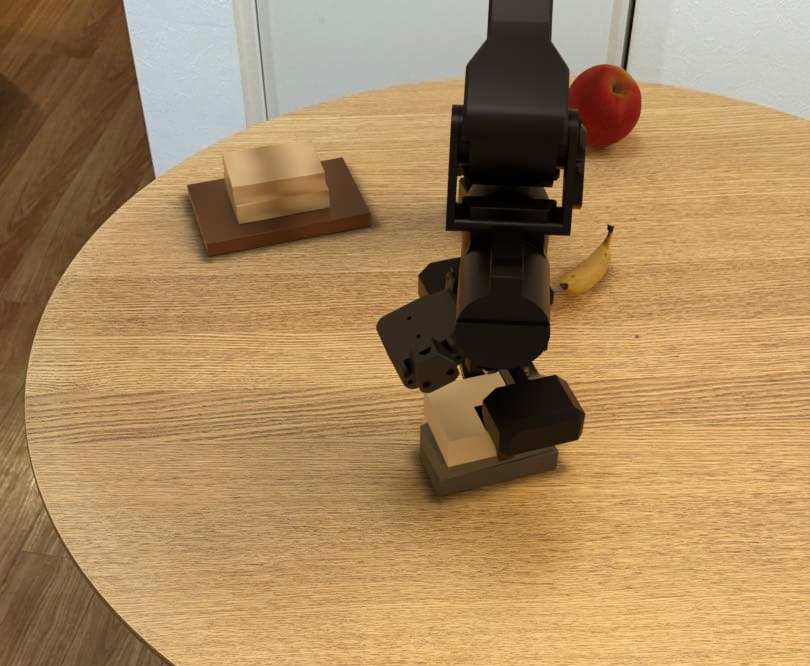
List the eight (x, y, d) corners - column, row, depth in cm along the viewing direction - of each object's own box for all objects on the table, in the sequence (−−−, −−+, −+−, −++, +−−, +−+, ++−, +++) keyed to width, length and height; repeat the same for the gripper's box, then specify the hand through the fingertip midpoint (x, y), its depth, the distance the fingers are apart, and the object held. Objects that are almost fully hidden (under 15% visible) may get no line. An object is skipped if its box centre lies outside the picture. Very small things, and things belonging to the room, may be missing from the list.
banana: (571, 322, 103) (576, 286, 100) (547, 313, 104) (551, 277, 101) (618, 262, 109) (624, 226, 106) (595, 254, 109) (600, 218, 106)
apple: (565, 162, 119) (574, 90, 113) (558, 120, 124) (566, 48, 118) (639, 162, 119) (651, 89, 113) (628, 119, 124) (640, 48, 118)
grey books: (534, 428, 95) (538, 393, 92) (557, 470, 92) (562, 435, 89) (417, 455, 93) (417, 420, 90) (436, 499, 90) (437, 464, 87)
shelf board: (343, 169, 118) (340, 120, 114) (370, 225, 112) (369, 176, 108) (188, 197, 115) (180, 148, 111) (208, 256, 109) (200, 207, 105)
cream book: (530, 389, 92) (533, 363, 90) (559, 441, 88) (563, 415, 86) (423, 413, 90) (423, 387, 88) (447, 467, 87) (448, 441, 84)
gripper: (349, 210, 82) (356, 374, 94) (432, 383, 70) (429, 544, 82) (497, 182, 84) (486, 346, 96) (601, 346, 72) (573, 508, 85)
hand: (490, 430), depth 90 cm, fingers closed on cream book, 6 cm apart
